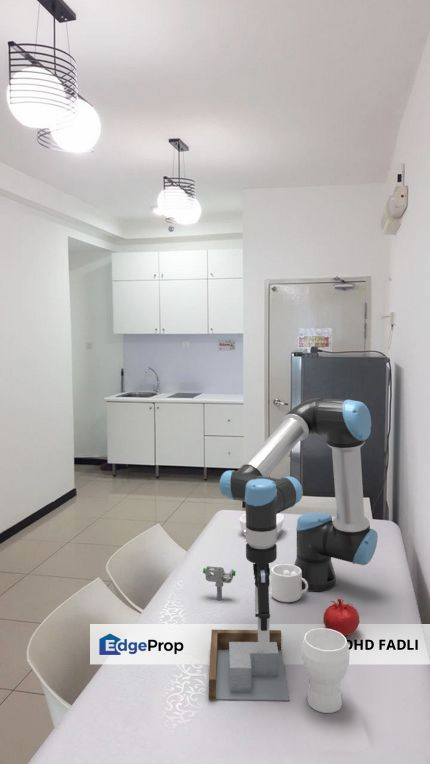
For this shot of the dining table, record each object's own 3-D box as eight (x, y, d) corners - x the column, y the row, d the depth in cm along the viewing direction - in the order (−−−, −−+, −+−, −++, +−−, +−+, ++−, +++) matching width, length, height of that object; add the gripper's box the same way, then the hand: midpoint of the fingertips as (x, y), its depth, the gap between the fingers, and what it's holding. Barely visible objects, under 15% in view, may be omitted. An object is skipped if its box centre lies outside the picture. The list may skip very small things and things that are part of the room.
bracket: (229, 664, 139) (229, 641, 138) (276, 664, 139) (276, 642, 138) (229, 692, 128) (229, 667, 128) (281, 692, 128) (281, 668, 127)
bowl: (271, 550, 215) (272, 527, 214) (232, 541, 224) (232, 519, 223) (290, 536, 230) (290, 514, 229) (253, 529, 239) (253, 508, 238)
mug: (312, 594, 178) (313, 567, 177) (303, 608, 168) (303, 579, 168) (277, 587, 183) (277, 560, 182) (266, 600, 174) (267, 572, 173)
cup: (296, 688, 130) (296, 627, 129) (339, 685, 131) (340, 625, 130) (307, 719, 119) (308, 653, 118) (355, 716, 120) (356, 651, 119)
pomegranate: (364, 638, 152) (365, 605, 151) (330, 641, 150) (331, 608, 149) (350, 620, 161) (350, 589, 161) (318, 623, 160) (318, 592, 159)
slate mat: (281, 651, 145) (281, 650, 145) (289, 701, 125) (289, 699, 125) (217, 650, 146) (217, 649, 146) (215, 700, 126) (215, 698, 126)
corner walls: (280, 648, 147) (280, 630, 146) (289, 701, 125) (289, 680, 125) (211, 647, 147) (211, 629, 147) (208, 700, 126) (208, 679, 125)
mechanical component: (234, 602, 172) (234, 572, 171) (202, 599, 174) (202, 569, 173) (235, 598, 175) (235, 568, 174) (204, 595, 177) (204, 565, 176)
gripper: (244, 525, 146) (245, 600, 148) (247, 565, 121) (248, 655, 124) (272, 525, 146) (272, 600, 148) (281, 565, 121) (281, 655, 123)
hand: (261, 625), depth 136 cm, fingers open, 13 cm apart
